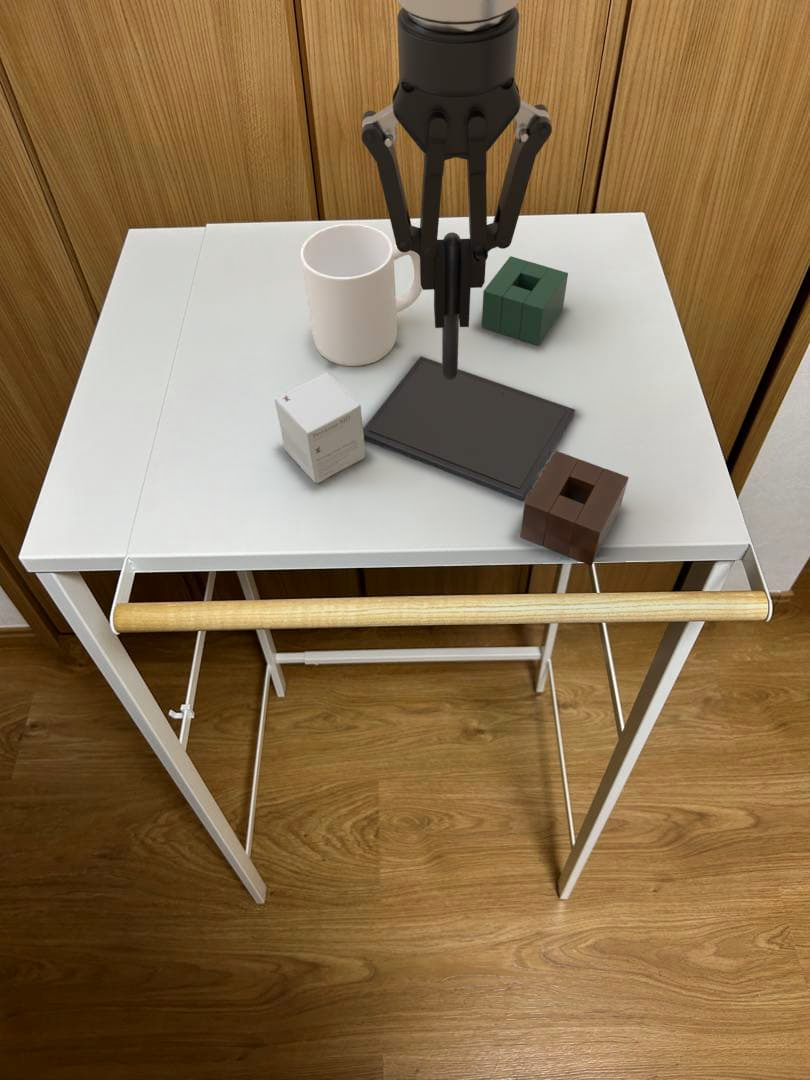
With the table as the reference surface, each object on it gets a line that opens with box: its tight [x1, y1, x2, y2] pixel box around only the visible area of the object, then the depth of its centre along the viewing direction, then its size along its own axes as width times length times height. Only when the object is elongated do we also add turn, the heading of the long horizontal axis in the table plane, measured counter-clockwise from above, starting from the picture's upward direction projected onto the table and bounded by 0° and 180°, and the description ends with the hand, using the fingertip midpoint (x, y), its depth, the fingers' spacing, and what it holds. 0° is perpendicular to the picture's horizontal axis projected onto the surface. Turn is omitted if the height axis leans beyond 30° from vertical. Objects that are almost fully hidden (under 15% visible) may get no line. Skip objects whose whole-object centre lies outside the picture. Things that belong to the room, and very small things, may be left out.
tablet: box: [363, 355, 576, 502], centre depth 85 cm, size 18×13×1 cm
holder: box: [519, 450, 630, 567], centre depth 75 cm, size 7×7×5 cm
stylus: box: [441, 231, 462, 380], centre depth 70 cm, size 1×1×14 cm
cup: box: [300, 223, 423, 367], centre depth 89 cm, size 9×14×12 cm
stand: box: [481, 256, 569, 346], centre depth 93 cm, size 7×7×5 cm
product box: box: [274, 371, 366, 484], centre depth 80 cm, size 6×6×7 cm
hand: (451, 316), depth 70 cm, fingers closed on stylus
